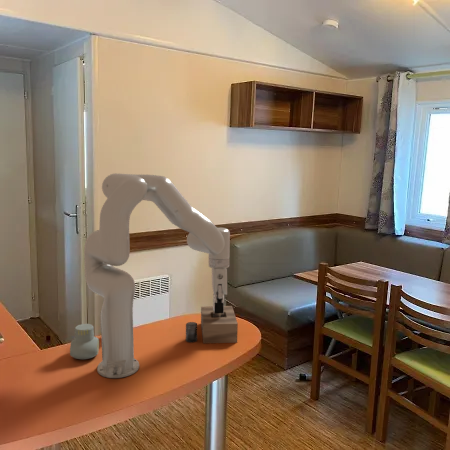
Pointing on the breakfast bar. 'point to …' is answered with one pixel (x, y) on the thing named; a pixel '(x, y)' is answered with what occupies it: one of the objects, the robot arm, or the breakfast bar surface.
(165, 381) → the breakfast bar surface
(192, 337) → the short black pin
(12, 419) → the breakfast bar surface
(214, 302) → the tall steel pin
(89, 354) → the air freshener
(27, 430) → the breakfast bar surface
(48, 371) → the breakfast bar surface
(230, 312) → the walnut block
